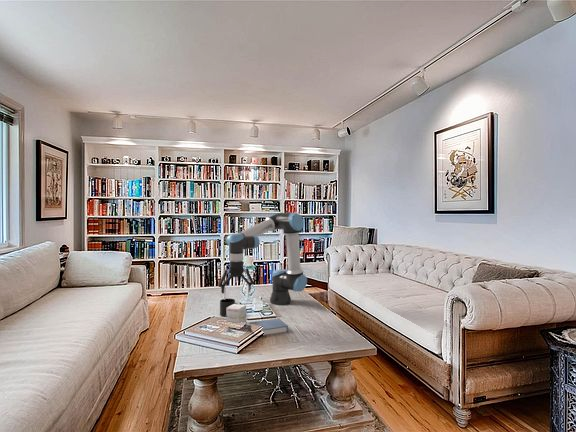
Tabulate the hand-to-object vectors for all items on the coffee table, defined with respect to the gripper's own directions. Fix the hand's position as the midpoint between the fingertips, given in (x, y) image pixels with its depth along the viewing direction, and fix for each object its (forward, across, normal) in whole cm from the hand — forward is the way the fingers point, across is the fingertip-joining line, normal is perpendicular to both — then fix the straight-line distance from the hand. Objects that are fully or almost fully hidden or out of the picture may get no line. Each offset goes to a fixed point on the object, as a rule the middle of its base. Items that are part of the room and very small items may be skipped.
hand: (236, 297), depth 182 cm
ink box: (+17, 0, 0) cm, 17 cm away
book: (+17, -15, +12) cm, 26 cm away
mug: (+17, -1, -22) cm, 28 cm away
